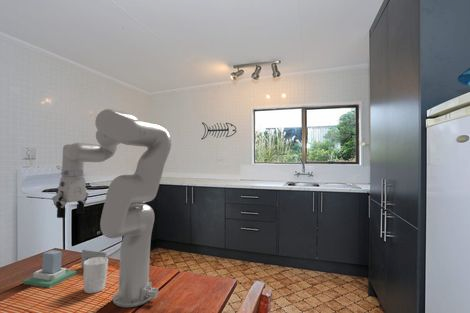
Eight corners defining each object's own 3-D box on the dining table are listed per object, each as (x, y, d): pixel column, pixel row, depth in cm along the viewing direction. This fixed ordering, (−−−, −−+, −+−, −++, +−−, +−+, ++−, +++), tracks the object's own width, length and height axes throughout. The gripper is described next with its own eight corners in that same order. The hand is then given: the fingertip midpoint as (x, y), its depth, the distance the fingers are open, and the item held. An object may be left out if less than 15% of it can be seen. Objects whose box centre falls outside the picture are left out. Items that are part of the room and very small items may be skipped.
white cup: (79, 288, 90) (80, 260, 91) (102, 281, 96) (103, 255, 97) (86, 296, 85) (87, 266, 86) (110, 289, 91) (111, 261, 91)
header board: (76, 274, 102) (77, 266, 102) (49, 287, 91) (49, 279, 91) (52, 270, 105) (52, 263, 105) (22, 283, 93) (23, 275, 93)
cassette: (106, 270, 107) (107, 251, 108) (103, 271, 106) (104, 253, 106) (83, 266, 110) (84, 249, 110) (80, 268, 108) (81, 250, 109)
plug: (60, 274, 99) (61, 251, 99) (52, 278, 95) (53, 254, 96) (48, 272, 100) (49, 249, 101) (39, 276, 97) (40, 252, 97)
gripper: (63, 174, 96) (61, 220, 95) (95, 173, 113) (94, 212, 112) (46, 174, 97) (44, 219, 96) (80, 173, 114) (79, 211, 113)
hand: (71, 215), depth 104 cm, fingers open, 9 cm apart
